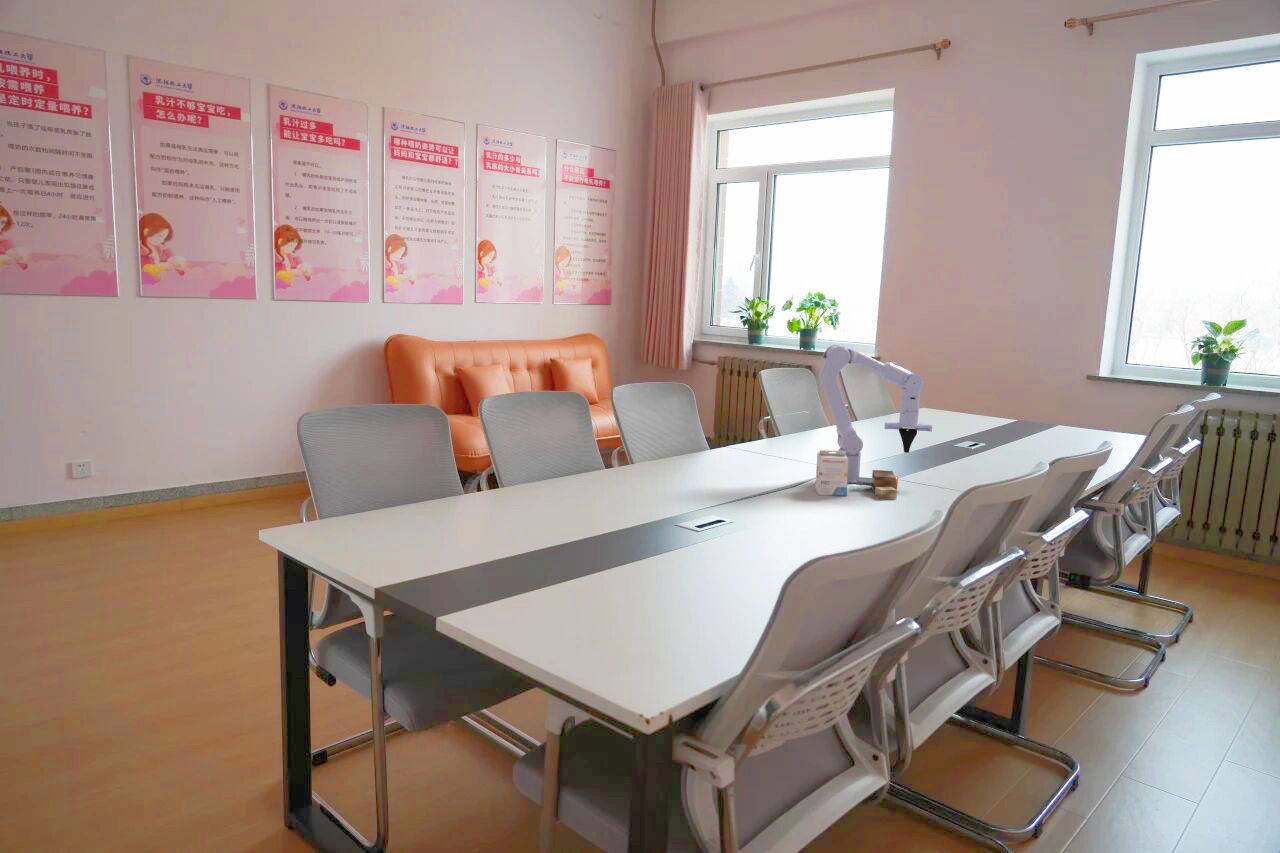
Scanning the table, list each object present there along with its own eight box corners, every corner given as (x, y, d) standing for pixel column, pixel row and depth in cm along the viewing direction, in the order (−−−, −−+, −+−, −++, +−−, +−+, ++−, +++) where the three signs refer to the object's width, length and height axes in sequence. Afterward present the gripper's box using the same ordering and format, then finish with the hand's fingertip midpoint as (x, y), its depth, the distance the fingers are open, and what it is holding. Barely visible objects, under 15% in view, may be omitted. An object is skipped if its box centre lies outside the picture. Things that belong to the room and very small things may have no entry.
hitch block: (874, 493, 260) (875, 476, 259) (871, 486, 269) (872, 469, 269) (894, 495, 259) (895, 477, 258) (891, 487, 268) (892, 471, 267)
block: (880, 499, 253) (881, 490, 252) (874, 496, 257) (875, 487, 256) (896, 499, 254) (897, 489, 253) (890, 496, 258) (890, 486, 257)
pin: (856, 488, 263) (857, 475, 263) (855, 485, 267) (856, 473, 267) (897, 491, 261) (897, 478, 261) (895, 488, 265) (896, 475, 264)
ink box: (843, 490, 264) (845, 447, 262) (846, 496, 256) (849, 452, 253) (814, 488, 265) (817, 446, 262) (817, 495, 256) (820, 451, 254)
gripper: (887, 410, 271) (884, 453, 273) (934, 413, 268) (931, 455, 270) (885, 408, 278) (882, 449, 280) (931, 410, 275) (928, 451, 277)
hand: (906, 452), depth 276 cm, fingers closed
